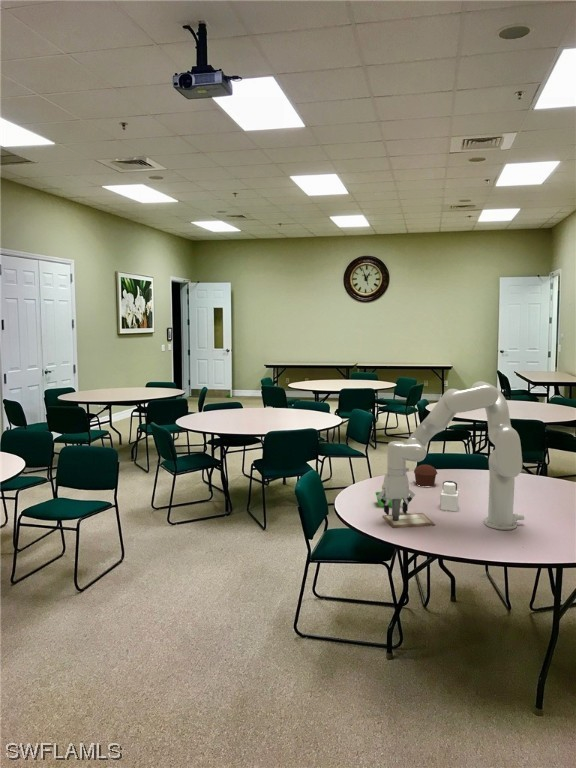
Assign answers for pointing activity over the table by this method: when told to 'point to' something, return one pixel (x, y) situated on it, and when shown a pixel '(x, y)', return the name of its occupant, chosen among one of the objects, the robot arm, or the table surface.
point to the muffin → (425, 475)
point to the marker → (395, 509)
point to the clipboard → (409, 520)
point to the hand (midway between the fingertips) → (395, 513)
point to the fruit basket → (384, 498)
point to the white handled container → (449, 496)
